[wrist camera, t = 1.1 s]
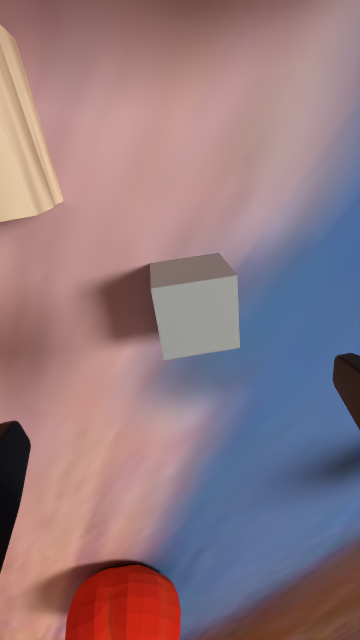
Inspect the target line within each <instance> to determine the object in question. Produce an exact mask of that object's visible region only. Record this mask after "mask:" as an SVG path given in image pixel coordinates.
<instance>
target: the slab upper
mask: <svg viewBox="0 0 360 640" xmlns="http://www.w3.org/2000/svg"><path fill="white" fill-rule="evenodd" d="M54 207H56V206H55V203H54V200H53V197H52V194H51V191H50V188H49V185H48V182H47V179H46V177H45V174H44V171H43V168H42V165H41V162H40V159H39V156H38V153H37V150H36V147H35V144H34V141H33V138H32V135H31V132H30V129H29V126H28V123H27V120H26V117H25V114H24V111H23V109H22V106H21V103H20V100H19V97H18V94H17V91H16V88H15V85H14V82H13V79H12V76H11V73H10V70H9V67H8V64H7V61H6V58H5V55H4V52H3V49H2V46H1V43H0V222H3V221H8V220H14V219H19V218H25V217H30V216H36V215H38V214H40V213H42V212H45V211H47V210H49V209H51V208H54Z"/></svg>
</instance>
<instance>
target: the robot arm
mask: <svg viewBox="0 0 360 640" xmlns="http://www.w3.org/2000/svg"><path fill="white" fill-rule="evenodd" d="M333 383H334V386H335V388H336V390H337V391H338V393H339V395H340V397H341V398H342V400H343V402H344V404H345V405H346V407H347V409H348V411H349V412H350V414H351V416H352V418H353V419H354V421H355V423H356V425H357V426H358V428H359V430H360V356H359V355H356V354H353V353H347V354H342V355H338V356H336V357H335V360H334V370H333ZM30 448H31V444H30V440H29V438H28V436H27V435H26V433H25V431H24V430H23V428H22V426H21V425H20V423H19V422H18V421H9V422H4V423H1V424H0V573H1V569H2V566H3V562H4V559H5V555H6V552H7V548H8V545H9V541H10V538H11V534H12V531H13V528H14V524H15V521H16V517H17V514H18V510H19V506H20V502H21V497H22V492H23V487H24V481H25V476H26V471H27V465H28V460H29V454H30Z"/></svg>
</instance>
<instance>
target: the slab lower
mask: <svg viewBox="0 0 360 640" xmlns="http://www.w3.org/2000/svg"><path fill="white" fill-rule="evenodd" d="M0 43H1V46H2V49H3V52H4V55H5V58H6V61H7V64H8V67H9V70H10V73H11V76H12V79H13V82H14V85H15V88H16V91H17V94H18V97H19V100H20V103H21V106H22V109H23V111H24V114H25V117H26V120H27V123H28V126H29V129H30V132H31V135H32V138H33V141H34V144H35V147H36V150H37V153H38V156H39V159H40V162H41V165H42V168H43V171H44V174H45V177H46V179H47V182H48V185H49V188H50V191H51V194H52V197H53V200H54V203H55V205H56V204H58V203H60V202H63V201H64V200H63V197H62V194H61V190H60V187H59V184H58V180H57V177H56V174H55V170H54V167H53V164H52V160H51V157H50V153H49V150H48V147H47V143H46V140H45V137H44V133H43V130H42V127H41V123H40V120H39V117H38V113H37V110H36V107H35V103H34V100H33V96H32V93H31V90H30V86H29V83H28V80H27V76H26V73H25V70H24V66H23V63H22V60H21V56H20V53H19V50H18V46H17V43H16V39H15V38H14V37H13V36H12V35H11V34H10V33H8V32H7V31H6V30H5V29H4V28H3V27H2V26H1V25H0Z"/></svg>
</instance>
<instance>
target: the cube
mask: <svg viewBox="0 0 360 640" xmlns="http://www.w3.org/2000/svg"><path fill="white" fill-rule="evenodd" d="M150 283H151V293H152V299H153V304H154V310H155V315H156V320H157V326H158V331H159V337H160V342H161V347H162V353H163V358H164V360H168V359H174V358H180V357H186V356H193V355H199V354H205V353H211V352H217V351H224V350H230V349H236V348H240V339H239V311H238V283H237V274H236V273H235V272H234V271H233V270H232V268H231V267H230V266H229V265H228V263H227V262H226V261H225V260H224V258H223V257H222V256H221V255H220V254H219V253H215V254H208V255H202V256H195V257H189V258H182V259H176V260H169V261H162V262H156V263H150Z"/></svg>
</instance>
